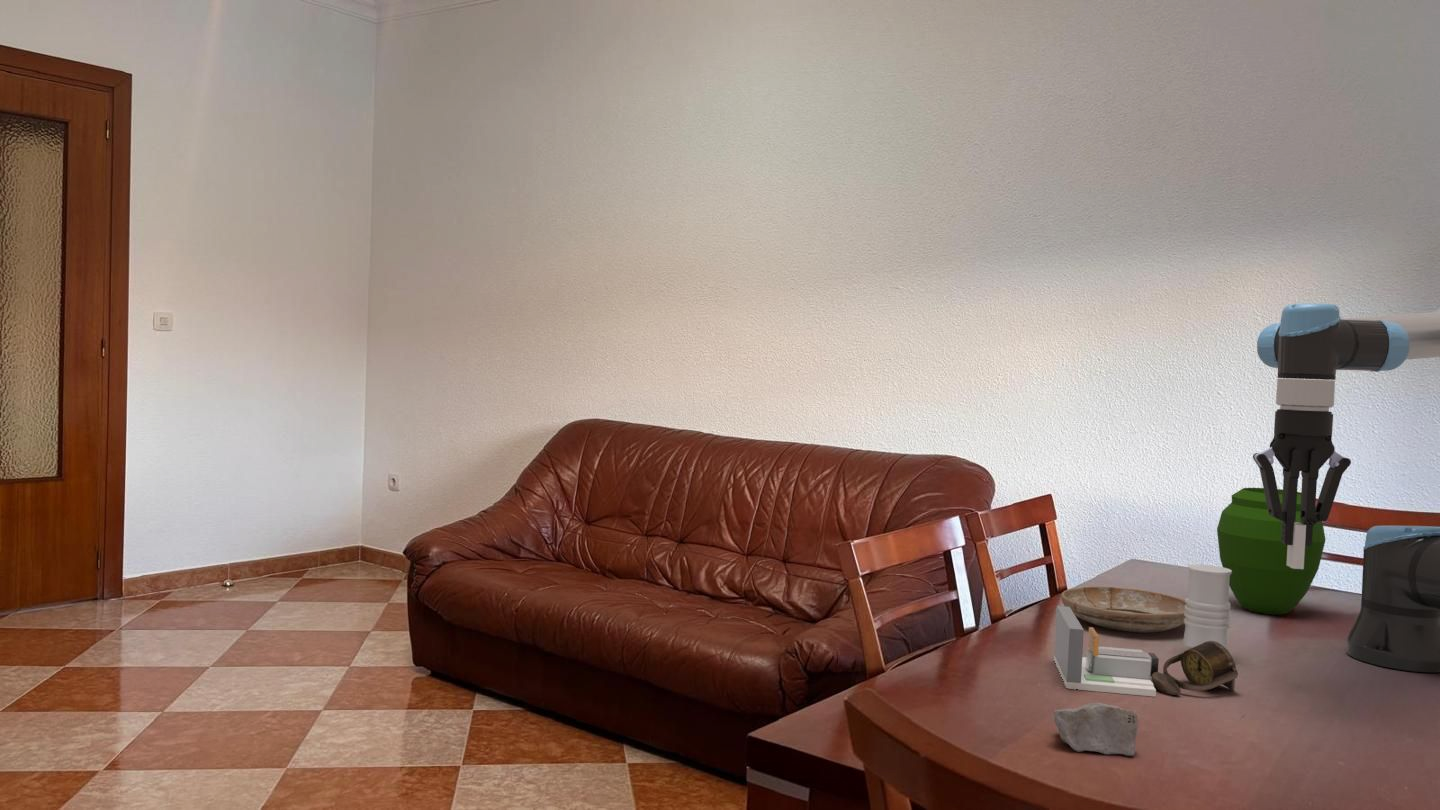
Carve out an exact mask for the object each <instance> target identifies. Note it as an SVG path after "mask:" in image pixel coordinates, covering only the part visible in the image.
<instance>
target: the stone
mask: <svg viewBox="0 0 1440 810" xmlns="http://www.w3.org/2000/svg"><path fill="white" fill-rule="evenodd" d="M1053 717H1054V718H1053V722H1054V724H1055V726H1056V728H1057V731H1059V737H1060V739H1061V740H1062V742H1064V743H1065V744H1066V745H1069V747H1070V748H1071V749H1072V750H1074V751H1075V752H1076V753H1078V752H1085V751H1088V752H1098V753H1101V754H1103V755H1124V756H1126V757H1127V756H1128V757H1131V756H1134V755H1135V753H1136V743H1137V742H1136V741H1137V738H1136V737H1137V735H1138V729H1139V726H1138V725H1139V720H1138V714H1137V713H1136V712H1135V710H1131V709H1123V708H1121V707H1119V706H1117V705H1111V704H1107V703H1104V702H1092V703H1091V702H1090V703H1086V704H1083V705H1081V706H1079V707H1076V708H1063V709H1054V710H1053Z"/></svg>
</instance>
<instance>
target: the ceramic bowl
mask: <svg viewBox="0 0 1440 810" xmlns="http://www.w3.org/2000/svg"><path fill="white" fill-rule="evenodd" d="M1060 597H1061V602H1062V605H1063V606H1066V607H1070V608H1071V610H1072V611H1073V613H1074V615H1075V616H1076V618H1079V619H1081V620H1082V621H1084V622H1086V623H1087V622H1088V623H1090V624H1091V625H1092V624H1093V625H1096V626H1098V627H1104V628H1106V629H1111V630H1118V631H1122V632H1131V633H1160V632H1164V631H1165V632H1166V631H1169V630H1173V629H1175V628H1179V627H1180V626H1182V625H1183V624H1185V623H1184V619H1185V618H1186V617H1185V616H1184V613H1185V611H1187V610H1186V609H1185V605H1186V604H1187V603H1186V602H1185V599H1182V598H1179V597H1176V596H1172V595H1168V594H1164V593H1160V592H1154V591H1149V590H1142V589H1141V590H1140V589H1134V588H1127V587H1125V588H1124V587H1113V586H1088V587H1087V586H1086V587H1085V586H1083V587H1076V588H1075V587H1074V588H1070V589H1066V590H1064V591H1062V593H1061V596H1060Z"/></svg>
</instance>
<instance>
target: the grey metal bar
mask: <svg viewBox="0 0 1440 810" xmlns="http://www.w3.org/2000/svg"><path fill="white" fill-rule="evenodd" d="M1099 645H1100V636H1099V634H1098V633H1097V631H1096V630H1095V628H1094V627H1092V626H1088V642H1087V647H1086V648H1085V657H1086V664H1085V666H1086V667H1087V669H1088V671H1093V655H1094V656H1098V655H1108V656H1119V657H1131V658H1143V659H1149V660H1150V661H1151V673H1150V677H1152V674H1153V673H1154V672H1159V660H1160V659H1159V657H1158V656H1157V655H1156V653H1154V652H1145V651H1143V652H1132V651H1121V650H1109V649H1098V648H1099ZM1088 647H1089V648H1088Z"/></svg>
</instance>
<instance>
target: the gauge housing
mask: <svg viewBox="0 0 1440 810" xmlns="http://www.w3.org/2000/svg"><path fill="white" fill-rule="evenodd" d="M1055 613H1056V615H1055V629H1054V631H1055V634H1054V650H1053V652H1054V653H1053V662H1054V661H1055V662H1054V664H1055V663H1056V664H1055V666H1056V669H1057V668H1058V669H1057V671H1058V670H1059V671H1058V673H1059V672H1060V673H1059V675H1060V674H1061V675H1060V677H1062V678H1061V680H1062V679H1063V680H1062V682H1063V681H1064V682H1063V684H1064V687H1065V688H1068V690H1076V689H1078V690H1077V691H1088V692H1097V693H1098V692H1100V693H1110V694H1121V695H1130V696H1131V695H1132V696H1142V697H1153V698H1156V697H1157V688H1155V685H1154V683H1153V681H1152V679H1151V676H1150V673H1151V661H1150V660H1149V659H1143V658H1131V657H1119V656H1108V655H1098V656H1094V655H1093V671H1088V669H1087V667H1086V666H1085V664H1086V656H1083V652H1084V651H1083V650H1084V633H1085V632H1084V631H1085V630H1084V628H1083V626H1082V625H1081V623H1080V621H1079V620H1078V617H1077V616H1075V615H1074V613H1073V611H1072V610H1071V608H1070V607H1066V606H1064V605H1063V606H1062V605H1056V612H1055ZM1087 648H1089V647H1088V646H1087ZM1098 649H1109V650H1121V651H1132V652H1144V651H1143V650H1142V649H1135V648H1120V647H1110V646H1099V648H1098Z"/></svg>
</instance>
